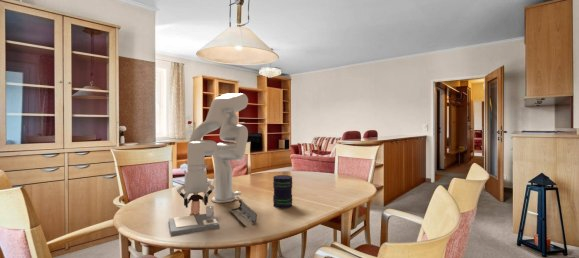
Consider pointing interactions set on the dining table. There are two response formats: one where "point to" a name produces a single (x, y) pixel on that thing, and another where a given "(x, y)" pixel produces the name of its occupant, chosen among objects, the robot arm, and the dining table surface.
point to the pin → (209, 214)
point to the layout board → (191, 224)
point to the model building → (245, 212)
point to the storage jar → (282, 191)
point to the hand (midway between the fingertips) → (196, 205)
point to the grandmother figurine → (195, 203)
